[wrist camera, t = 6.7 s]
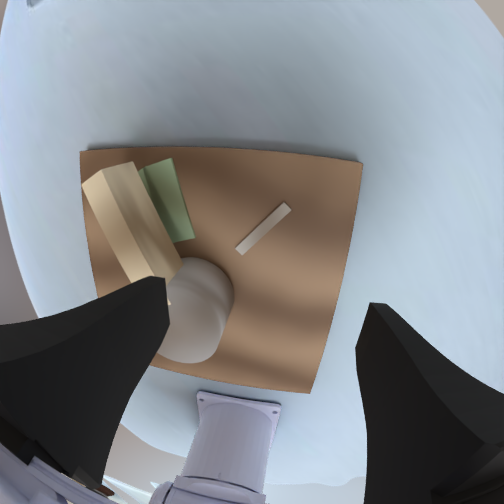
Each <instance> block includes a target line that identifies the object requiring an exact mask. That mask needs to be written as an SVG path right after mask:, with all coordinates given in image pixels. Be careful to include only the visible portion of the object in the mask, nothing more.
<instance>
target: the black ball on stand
mask: <svg viewBox="0 0 504 504" xmlns="http://www.w3.org/2000/svg"><path fill="white" fill-rule="evenodd" d="M86 488H87V489H89V490H91V491H93V492H95V493H97V494H99V495H101V496H103V497H105V498H107V499H108V497H107V496H112V495H114V494H115V493H114V492H113V491H111V490H110V489H108V488H107V487H105V486H103V485H101V487H99V488H97V489H90V488H88V487H86Z"/></svg>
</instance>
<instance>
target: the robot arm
mask: <svg viewBox="0 0 504 504" xmlns="http://www.w3.org/2000/svg"><path fill="white" fill-rule="evenodd" d="M169 325H170V318H169V309H168V300H167V291H166V281H165V278H162V277H156V276H148V277H145V278H142V279H140V280H137V281H135V282H133V283H131V284H128V285H126V286H124V287H122V288H120V289H118V290H116V291H113V292H111V293H109V294H107V295H105V296H102V297H100V298H98V299H95V300H93V301H91V302H88V303H86V304H84V305H81V306H79V307H76V308H73V309H70V310H68V311H65V312H61V313H58V314H55V315H52V316H48V317H43V318H39V319H36V320H31V321H26V322H21V323H14V324H6V325H0V504H68V503H67V501H66V499H67V500H68V501H70V502H72V503H73V504H118V503H116V502H114V501H112V500H109V499H107V498H105V497H103V496H101V495H99V494H97V493H95V492H93V491H91V490H89V489H87V488H86V487H88V488H90V489H97V488H99V487H101V484H102V479H103V475H104V471H105V466H106V462H107V459H108V455H109V452H110V449H111V446H112V442H113V439H114V436H115V433H116V431H117V428H118V426H119V423H120V420H121V418H122V415H123V413H124V411H125V408H126V406H127V404H128V401H129V399H130V397H131V395H132V393H133V391H134V389H135V388H136V386H137V384H138V383H139V381H140V379H141V378H142V376H143V374H144V373H145V371H146V369H147V368H148V366H149V365H150V363H151V361H152V360H153V358H154V356H155V355H156V353H157V351H158V350H159V348H160V346H161V344H162V342H163V340H164V338H165V335H166V333H167V330H168V328H169ZM355 350H356V367H357V376H358V381H359V387H360V392H361V397H362V403H363V409H364V415H365V421H366V429H367V474H366V487H365V497H364V504H504V394H503V393H501V392H499V391H497V390H495V389H493V388H491V387H489V386H487V385H486V384H484V383H482V382H481V381H479V380H477V379H476V378H474V377H472V376H471V375H469V374H468V373H466V372H465V371H464V370H462V369H461V368H459V367H458V366H457V365H455V364H454V363H453V362H451V361H450V360H449V359H447V358H446V357H445V356H444V355H442V354H441V353H440V352H439V351H438V350H437V349H435V348H434V347H433V346H432V345H431V344H430V343H429V342H427V341H426V340H425V339H424V338H423V337H422V336H421V335H420V334H419V333H418V332H417V331H416V330H414V329H413V328H412V327H411V326H410V325H409V324H408V323H407V322H406V321H405V320H404V319H403V318H402V317H401V316H400V315H399V314H398V313H396V312H395V311H394V310H393V309H392V308H391V307H390V306H388V305H387V304H384V303H371V302H370V304H369V307H368V310H367V314H366V317H365V320H364V323H363V326H362V329H361V332H360V335H359V338H358V341H357V344H356V347H355ZM197 404H198V411H199V419H200V422H199V425H198V428H197V431H196V433H195V436H194V439H193V442H192V445H191V448H190V451H189V453H188V456H187V459H186V462H185V465H184V468H183V471H182V473H181V476H178V475H177V476H176V478H175V481H174V483H172V482H169V481H167V482H165V483H163V484H161V485H159V486H158V487H157V488H156V490H155V491H154V493H153V495H152V497H151V499H150V502H149V504H267V503H265V499H266V495H264V494H262V492H263V486H264V480H265V474H266V467H267V461H268V454H269V449H270V448H271V445H272V442H273V438H274V435H275V431H276V427H277V423H278V420H279V416H280V412H281V406H280V405H279V404H274V403H266V402H259V401H252V400H245V399H239V398H233V397H228V396H222V395H217V394H212V393H207V392H203V391H199V392H198V393H197ZM61 473H63V474H64V475H63V474H61ZM65 475H66V476H68V477H69V478H68V477H66V476H65ZM70 478H72V479H74V480H76V481H77V482H79V483H81V484H83V485H85V486H86V487H84V486H82V485H80V484H78V483H76V482H75V481H73V480H71V479H70Z"/></svg>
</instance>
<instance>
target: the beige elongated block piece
mask: <svg viewBox="0 0 504 504" xmlns="http://www.w3.org/2000/svg"><path fill="white" fill-rule="evenodd" d="M81 186H82V188H83V190H84V193H85V195H86V197H87V199H88V201H89V204H90V206H91V208H92V210H93V212H94V214H95V216H96V218H97V220H98V222H99V224H100V226H101V228H102V230H103V232H104V234H105V236H106V238H107V240H108V242H109V244H110V246H111V248H112V249H113V251H114V253H115V255H116V257H117V259H118V260H119V262H120V264H121V266H122V268H123V269H124V271H125V273H126V275H127V276H128V278H129V280H130V281H131V283H133V282H135V281H137V280H140V279H142V278H145V277H148V276H156V277H162V278H165V281H166V291H167V300H168V309H169V318H170V325H169V328H168V330H167V333H166V335H165V338H164V340H163V342H162V344H161V346H160V348H159V350H158V351H157V353H159V354H160V355H162V356H164V357H166V358H168V359H170V360H173V361H176V362H181V363H198V362H202V361H204V360H206V359H208V358H210V357H211V356H212V355H213V354H214V353H215V351H216V349H217V347H218V344H219V341H220V339H221V336H222V334H223V331H224V328H225V326H226V323H227V320H228V318H229V315H230V312H231V310H232V307H233V304H234V290H233V287H232V284H231V282H230V280H229V279H228V277H227V276H226V275H225V273H224V272H223V271H222V270H221V269H220V268H218V267H217V266H216V265H214V264H213V263H211V262H209V261H206V260H204V259H200V258H194V257H186V258H180V256H179V254H178V252H177V251H176V249H175V247H174V245H173V243H172V241H171V239H170V237H169V235H168V233H167V231H166V229H165V227H164V225H163V223H162V221H161V219H160V217H159V215H158V213H157V211H156V209H155V207H154V205H153V203H152V201H151V199H150V197H149V195H148V193H147V191H146V189H145V187H144V184H143V182H142V180H141V178H140V176H139V174H138V172H137V169H136V167H135V165H134V163H133V161H132V162H128V163H124V164H120V165H116V166H112V167H108V168H105V169H101V170H100V171H98V172H97V173H96V174H94V175H93V176H92V177H90V178H89V179H88V180H86V181H85V182H84V183H83V184H81Z"/></svg>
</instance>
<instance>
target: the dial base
mask: <svg viewBox="0 0 504 504" xmlns="http://www.w3.org/2000/svg"><path fill="white" fill-rule="evenodd" d="M132 161H133V163H134V165H135V167H136V169H137V172H138V174H139V176H140V178H141V180H142V182H143V184H144V187H145V189H146V191H147V193H148V195H149V197H150V199H151V201H152V203H153V205H154V207H155V209H156V211H157V213H158V215H159V217H160V219H161V221H162V223H163V225H164V227H165V229H166V231H167V233H168V235H169V237H170V239H171V241H172V243H173V245H174V247H175V249H176V251H177V252H178V254H179V256H180V258H186V257H194V258H200V259H204V260H206V261H209V262H211V263H213V264H214V265H216V266H217V267H218V268H220V269H221V270H222V271H223V272H224V273H225V275H226V276H227V277H228V279H229V280H230V282H231V284H232V287H233V290H234V304H233V307H232V310H231V312H230V315H229V318H228V320H227V323H226V326H225V328H224V331H223V334H222V336H221V339H220V341H219V344H218V347H217V349H216V351H215V353H214V354H213V355H212V356H211V357H210V358H208V359H206V360H204V361H202V362H198V363H181V362H176V361H173V360H170V359H168V358H166V357H164V356H162V355H160V354H159V353H156V355H155V356H154V358H153V360H152V361H151V363H150V365H151V366H155V367H158V368H162V369H166V370H170V371H174V372H178V373H182V374H187V375H191V376H195V377H200V378H205V379H210V380H215V381H220V382H225V383H231V384H237V385H243V386H249V387H256V388H263V389H270V390H278V391H287V392H297V393H308V394H310V392H311V389H312V386H313V383H314V380H315V377H316V374H317V371H318V368H319V364H320V361H321V358H322V355H323V351H324V348H325V345H326V341H327V338H328V334H329V330H330V327H331V323H332V319H333V316H334V312H335V308H336V304H337V300H338V296H339V292H340V288H341V283H342V279H343V275H344V270H345V266H346V261H347V256H348V252H349V247H350V242H351V236H352V231H353V226H354V220H355V215H356V209H357V203H358V196H359V190H360V183H361V176H362V169H363V164H362V163H360V162H355V161H349V160H343V159H336V158H329V157H322V156H315V155H307V154H298V153H289V152H279V151H268V150H255V149H241V148H221V147H182V146H167V147H128V148H110V149H96V150H86V151H81V152H80V174H81V184H83V183H84V182H85V181H86V180H88V179H89V178H90V177H92V176H93V175H94V174H96V173H97V172H98V171H100V170H101V169H105V168H108V167H112V166H116V165H120V164H124V163H128V162H132ZM81 189H82V201H83V211H84V220H85V228H86V235H87V242H88V249H89V255H90V261H91V266H92V271H93V276H94V281H95V286H96V291H97V295H98V298H100V297H102V296H105V295H107V294H109V293H111V292H113V291H116V290H118V289H120V288H122V287H124V286H126V285H128V284H131V281H130V280H129V278H128V276H127V275H126V273H125V271H124V269H123V268H122V266H121V264H120V262H119V260H118V259H117V257H116V255H115V253H114V251H113V249H112V248H111V246H110V244H109V242H108V240H107V238H106V236H105V234H104V232H103V230H102V228H101V226H100V224H99V222H98V220H97V218H96V216H95V214H94V212H93V210H92V208H91V206H90V204H89V201H88V199H87V197H86V195H85V193H84V190H83V188H82V186H81Z"/></svg>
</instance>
